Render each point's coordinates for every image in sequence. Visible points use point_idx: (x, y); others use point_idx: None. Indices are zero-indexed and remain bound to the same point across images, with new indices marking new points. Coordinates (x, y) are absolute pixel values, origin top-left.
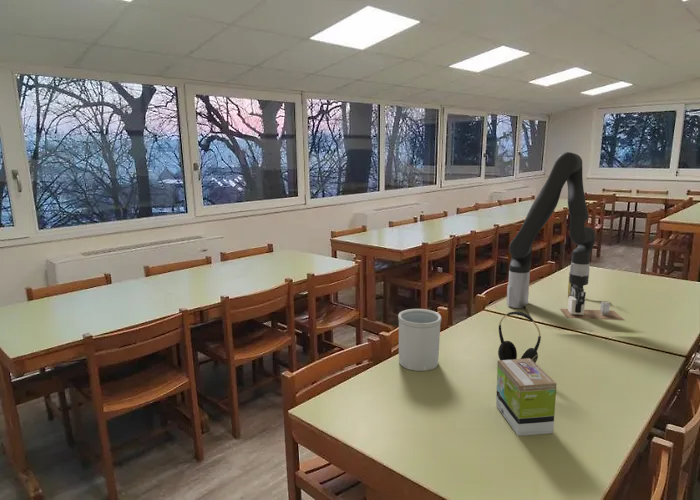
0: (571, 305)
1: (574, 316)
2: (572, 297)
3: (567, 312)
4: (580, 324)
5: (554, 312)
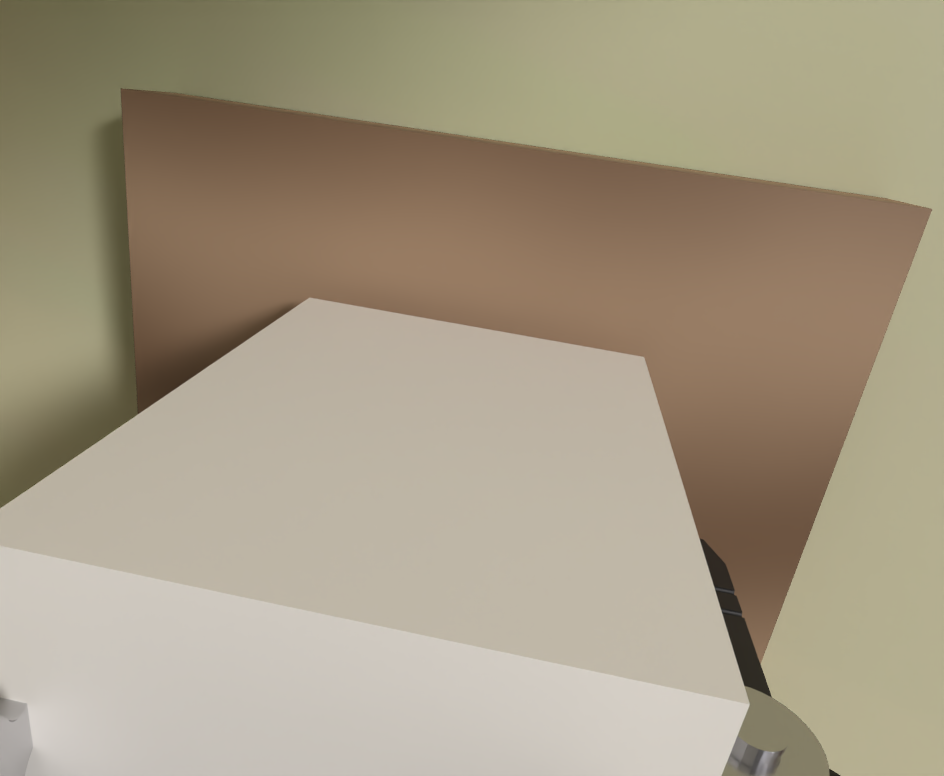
0: (231, 393)
1: (243, 336)
2: (425, 745)
3: (557, 301)
4: (16, 313)
5: (871, 35)
